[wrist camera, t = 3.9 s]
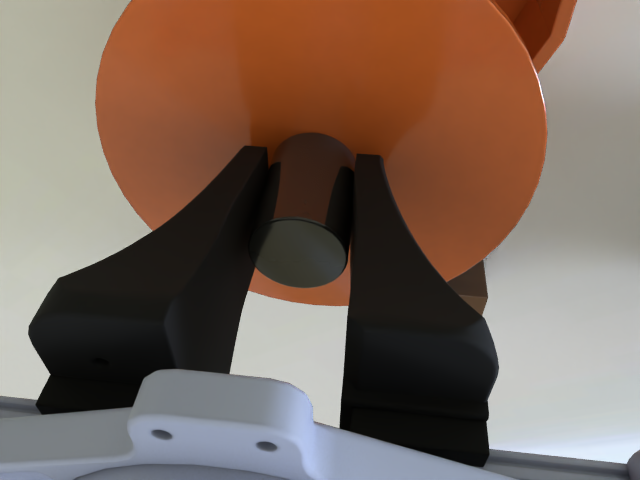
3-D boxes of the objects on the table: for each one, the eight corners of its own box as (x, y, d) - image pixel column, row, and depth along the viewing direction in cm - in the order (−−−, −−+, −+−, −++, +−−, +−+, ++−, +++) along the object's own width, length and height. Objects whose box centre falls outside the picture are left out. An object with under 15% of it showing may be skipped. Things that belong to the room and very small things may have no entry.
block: (479, 232, 30) (488, 297, 27) (464, 287, 33) (470, 351, 30) (394, 225, 30) (393, 289, 27) (387, 280, 33) (385, 343, 30)
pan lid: (612, -78, 12) (687, 12, 9) (486, 297, 20) (500, 411, 17) (49, -101, 13) (-71, -27, 9) (156, 267, 21) (112, 371, 18)
